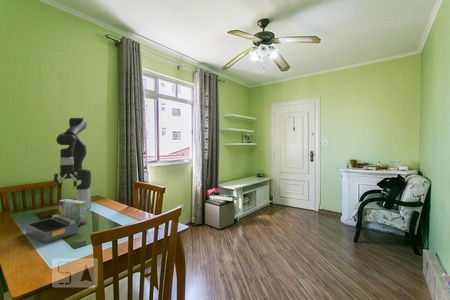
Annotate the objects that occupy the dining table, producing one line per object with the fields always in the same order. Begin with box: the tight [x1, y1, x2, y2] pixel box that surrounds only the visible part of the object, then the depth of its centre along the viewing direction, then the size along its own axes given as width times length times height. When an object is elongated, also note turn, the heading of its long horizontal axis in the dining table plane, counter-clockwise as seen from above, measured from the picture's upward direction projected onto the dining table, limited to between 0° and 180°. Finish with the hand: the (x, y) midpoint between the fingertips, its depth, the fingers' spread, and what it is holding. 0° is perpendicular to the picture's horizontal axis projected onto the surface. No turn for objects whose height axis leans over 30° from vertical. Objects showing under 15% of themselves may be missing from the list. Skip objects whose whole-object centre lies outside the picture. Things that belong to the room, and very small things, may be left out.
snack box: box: [58, 198, 88, 226], centre depth 144 cm, size 21×6×15 cm, turn 71°
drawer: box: [25, 213, 79, 245], centre depth 126 cm, size 16×26×8 cm, turn 60°
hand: (67, 187), depth 143 cm, fingers open, 8 cm apart
